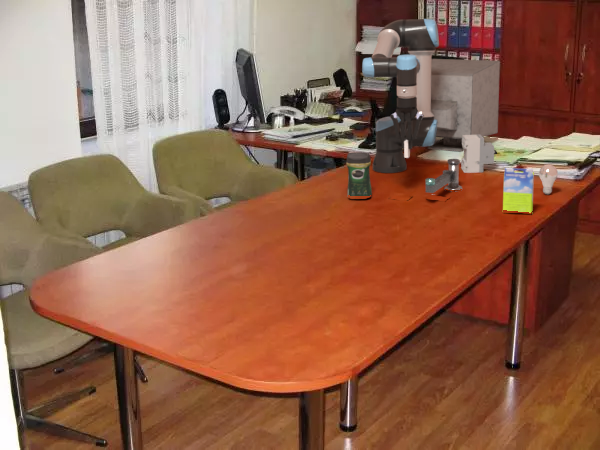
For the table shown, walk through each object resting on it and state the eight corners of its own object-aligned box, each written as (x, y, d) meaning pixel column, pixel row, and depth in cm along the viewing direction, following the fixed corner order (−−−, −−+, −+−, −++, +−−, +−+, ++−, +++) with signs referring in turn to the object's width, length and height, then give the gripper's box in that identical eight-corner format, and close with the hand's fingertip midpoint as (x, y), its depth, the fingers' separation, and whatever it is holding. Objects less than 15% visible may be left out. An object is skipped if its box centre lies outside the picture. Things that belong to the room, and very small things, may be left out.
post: (441, 190, 333) (442, 161, 329) (448, 185, 339) (448, 157, 335) (458, 192, 329) (458, 163, 326) (464, 187, 335) (465, 159, 331)
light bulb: (557, 192, 323) (559, 163, 319) (555, 197, 317) (556, 167, 313) (539, 191, 325) (541, 161, 322) (536, 196, 320) (537, 166, 316)
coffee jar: (372, 195, 331) (371, 150, 325) (370, 201, 324) (369, 154, 318) (348, 195, 333) (347, 150, 327) (346, 200, 326) (344, 154, 320)
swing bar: (444, 179, 332) (444, 166, 330) (456, 180, 329) (456, 167, 327) (422, 193, 314) (422, 179, 312) (434, 195, 312) (434, 181, 310)
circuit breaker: (497, 171, 356) (498, 137, 352) (464, 172, 357) (464, 138, 352) (493, 167, 363) (494, 133, 359) (461, 168, 364) (461, 135, 359)
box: (532, 212, 301) (534, 166, 296) (532, 215, 298) (534, 169, 292) (503, 210, 305) (504, 165, 299) (502, 214, 301) (503, 168, 295)
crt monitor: (498, 141, 409) (500, 60, 396) (470, 158, 379) (472, 71, 367) (433, 136, 427) (433, 58, 414) (401, 152, 397) (400, 68, 385)
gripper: (387, 97, 312) (388, 158, 320) (421, 98, 308) (421, 160, 315) (392, 94, 319) (393, 153, 326) (426, 95, 314) (425, 155, 322)
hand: (407, 156), depth 321 cm, fingers closed
